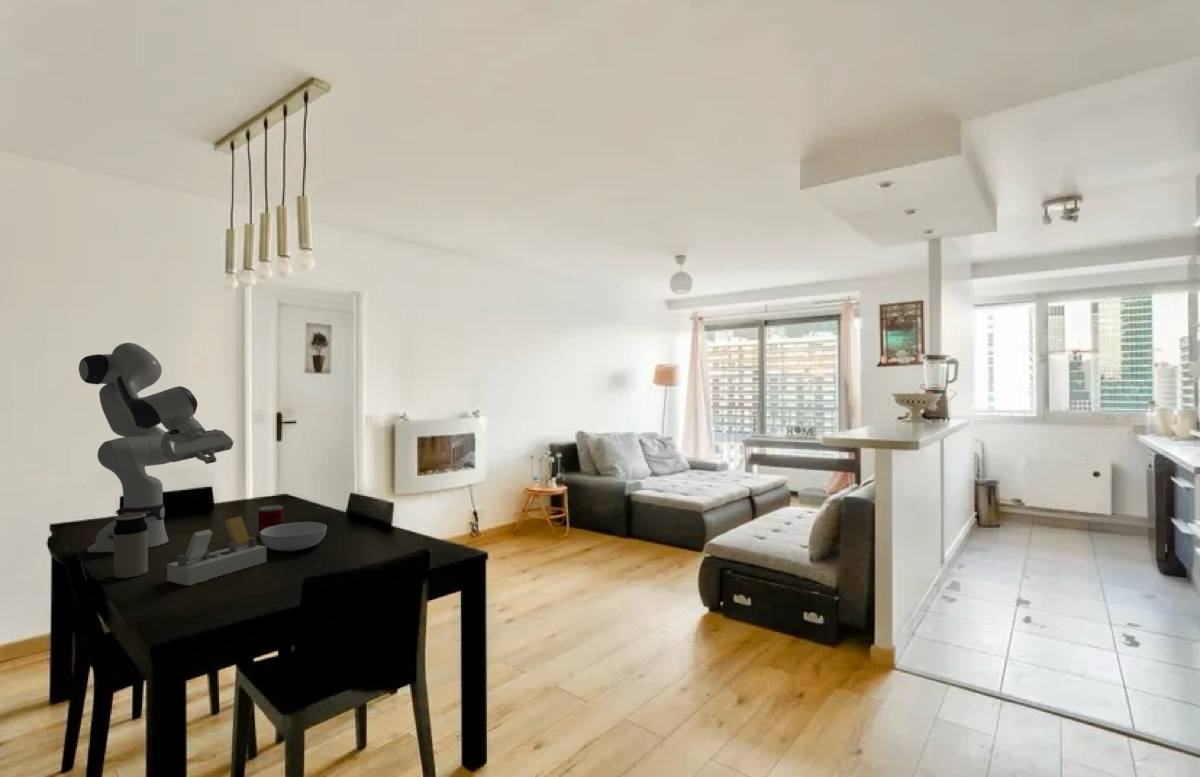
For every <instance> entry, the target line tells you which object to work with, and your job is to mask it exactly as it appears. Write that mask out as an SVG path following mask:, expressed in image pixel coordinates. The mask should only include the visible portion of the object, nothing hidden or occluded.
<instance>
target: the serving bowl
mask: <svg viewBox="0 0 1200 777" xmlns="http://www.w3.org/2000/svg"><path fill="white" fill-rule="evenodd" d="M327 528H328V527H327V525H326V524H325V523H321V522H316V521H315V522H314V521H299V522H289V523H288V522H287V523H283V524H280V525H276V526H272V527H268V528H265V529H263V530H262V531H260V537H259V538H260V540H261V542H262V543H263V546H264V547H266V548H268V549H271V550H273V551H274V550H275V551H280V552H286V551H288V552H296V551H297V550H298V551H302V549H303V550H306V549H308V548H310V547H313V546H316V545H317V544H319V543H320V542H321V541H322V540H323V539H324V538H325V536H326V534H327Z"/></svg>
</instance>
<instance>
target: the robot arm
mask: <svg viewBox="0 0 1200 777" xmlns="http://www.w3.org/2000/svg"><path fill="white" fill-rule="evenodd" d="M162 368H163V367H162V365H161V363H160V362H159V361H158V359H157V357H155V356H154V354H152V353H151V352H149V351H148V350H147V349H146V348H144V347H143V346H141V345H139V344H137V343H134V342H133V343H132V342H124V343H120V344H119V345H117V346H116V347H114V349H113V350H112V353H107V354H106V353H105V354H101V353H100V354H99V353H98V354H91V355H90V354H89V355H87V356H84V357H83V358H82V359H81V360H80V361H79V364H78V373H79V376H80V378H81V380H82V381H83V382H85V383H86V384H91V385H100V384H101V385H103V386H102V387H101V388H100V389H99V392H98V395H99V401H100V406H101V410H102V411H103V414H104V416H105V418H106V420H107V423H108V424H109V427H110V429H111V431H112V432H113V433H114V434H116V435H117V436H120V437H118V438H113V439H111V440H106V441H103V443H102V444H101V445H100V446H99V448H98V450H97V460H98V462H99V464H100V465H101V466H102V467H104V468H105V469H107V470H109V471H110V472H112V473H114V474H115V476H116V477H117V478H118V479H119V481H120V483H121V484H120V485H121V487H122V494H123V495H122V496H123V506H122V507H120V508H118V509H117V510H115V511H114V512H115V513H114V514H115V515H117V516H120V515H124V514H131V513H145V514H146V516H145V522H146V523H147V537H148V549H149V548H154V547H158V546H160V545H164V544H167V543H168V542H169V538H168V534H167V531H166V527H165V522H164V519H165V514H166V513H165V510H166V509H165V503H164V501H163V500H164V498H163V497H164V496H163V490H164V489H163V482H162V480H160V479H159V478H157V477H155V476H153V475H149V474H147V471H146V467H152V466H160V465H165V464H169V463H177V462H181V461H185V460H190V459H194V458H196V459H197V460H198V461H199V460H200V461H202V462H204V463H205V464H206V465H208V464H214V463H216V462H217V457H216V456H215V454H217V453H221V452H225V451H230V450H231V449H233V448H232V447H233V445H234V442H235V441H234V440H233V438H231V437H230V436H229V435H228V434H227V432H225V431H224V430H222V429H216V428H215V429H211V430H206V429H205V428H204V426H203V425H202V424H201V423H200V422H199V421H198V420H197V419H196V418H195V417H194V415H195V414H196V411H197V408H198V401H197V399H196V397H195V395H194V394H193V393H192V391H191V390H190V389H188V388H186V387H184V386H180V385H178V386H174V387H171V388H168V389H164V390H163V391H159V392H156V393H152V394H150V395H147V396H141V397H139V395H138V393H139V392H141V391H143V390H144V389H147V388H148V387H151V386H153V385H154V384H155V383H156V382H158V380H160V377H161V375H162V372H163V370H162ZM159 424H162V426H163V427H164V429H165V430H167V431H165V430H163V429H162V428H160V427H159V426H158V425H159ZM116 524H117V523H116V520H115V519H114V520H112V521H111V522H110V523H108V524H107V525H106V526H104V527H103V528H102V529H100V530H99V532H98V533H97V536H96V539H95V543H93V544H92V545H89V547H88V548H87V551H86V552H87V553H114V527H115V526H116Z"/></svg>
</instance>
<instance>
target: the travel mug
mask: <svg viewBox="0 0 1200 777" xmlns="http://www.w3.org/2000/svg"><path fill="white" fill-rule="evenodd" d="M145 516H146V514H145V513H131V514H124V515H120V516H118V515H117V516H115V517H114V520H116V523H117V524H116V526H115V527H114V552H113V575H114V576H113V577H114V578H115V579H121V578H123V579H130V578H129V577H132V578H136V577H135V576H137V577H140V576H143V575H144V574H146V573H148V571H149V563H148V562H149V560H148V559H149V552H148V550H149V548H148V537H147V523H146V522H145ZM142 574H143V575H142Z"/></svg>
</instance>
